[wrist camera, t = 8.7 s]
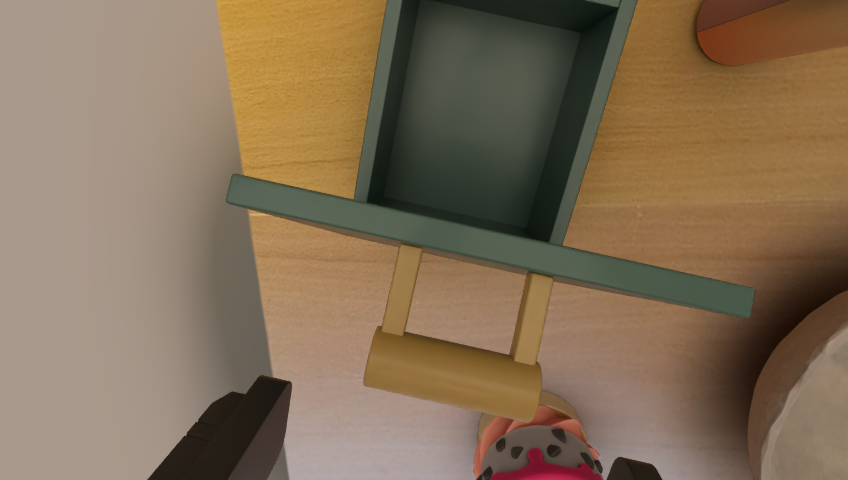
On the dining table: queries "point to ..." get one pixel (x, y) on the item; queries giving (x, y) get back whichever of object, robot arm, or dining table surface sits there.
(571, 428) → the cake
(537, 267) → the lid
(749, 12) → the beverage can
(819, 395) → the bowl
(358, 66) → the dining table surface
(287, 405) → the robot arm
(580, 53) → the chest
